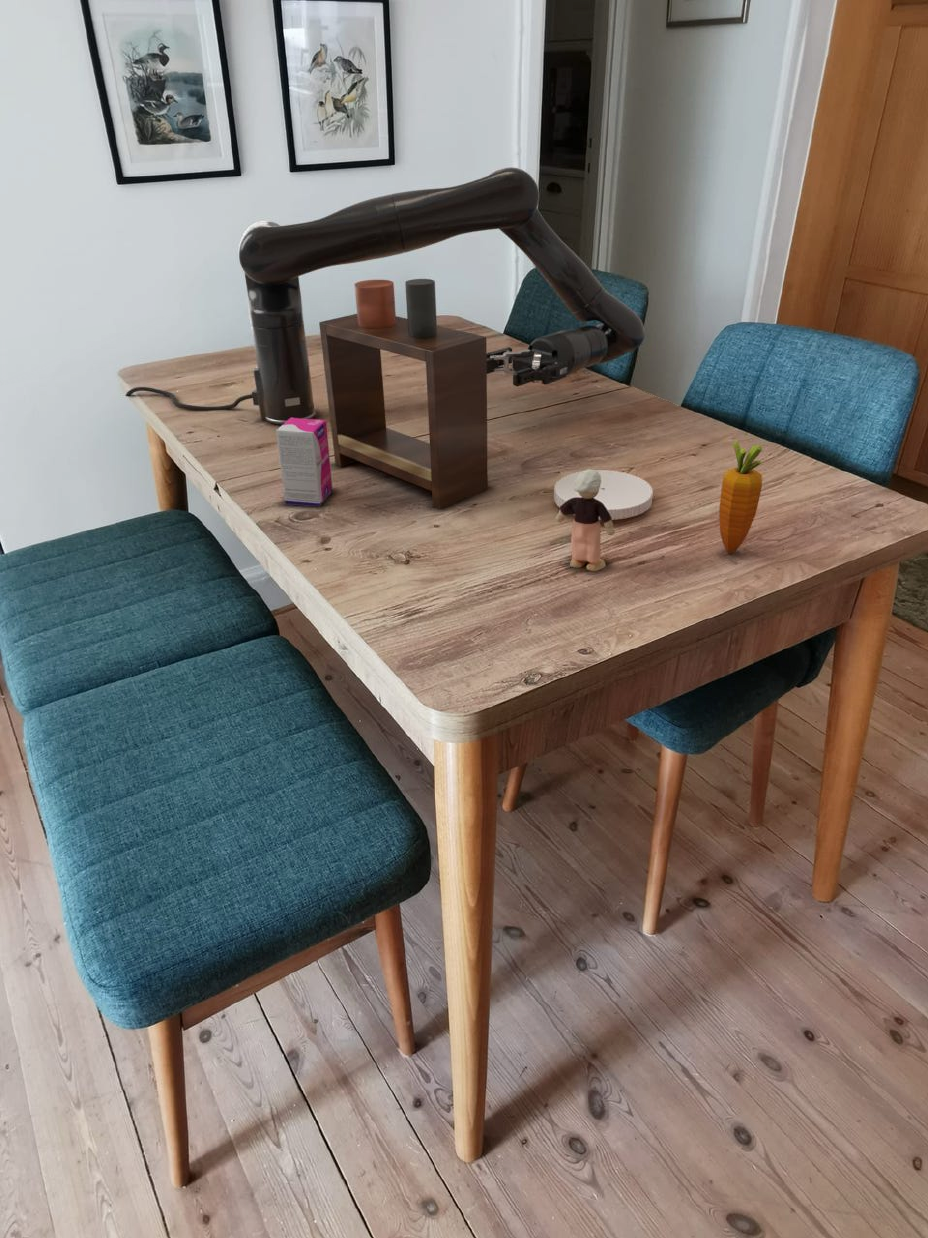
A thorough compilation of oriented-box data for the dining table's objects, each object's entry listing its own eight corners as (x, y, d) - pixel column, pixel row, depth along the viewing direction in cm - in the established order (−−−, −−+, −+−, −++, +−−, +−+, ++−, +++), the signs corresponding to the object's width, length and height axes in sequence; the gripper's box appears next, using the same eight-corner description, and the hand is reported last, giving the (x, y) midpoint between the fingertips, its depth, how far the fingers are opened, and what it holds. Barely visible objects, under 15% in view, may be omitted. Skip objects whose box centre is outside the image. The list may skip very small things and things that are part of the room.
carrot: (705, 545, 109) (721, 436, 101) (741, 543, 110) (761, 434, 102) (717, 563, 105) (736, 451, 97) (756, 561, 105) (777, 448, 97)
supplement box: (322, 507, 122) (312, 432, 116) (284, 504, 123) (272, 430, 117) (334, 491, 127) (326, 418, 121) (298, 488, 128) (288, 416, 122)
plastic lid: (551, 485, 127) (551, 470, 125) (643, 485, 126) (644, 469, 125) (556, 527, 115) (557, 510, 114) (658, 526, 114) (660, 509, 113)
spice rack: (335, 464, 136) (313, 271, 120) (382, 448, 142) (367, 261, 126) (440, 509, 121) (430, 295, 105) (488, 488, 126) (486, 282, 110)
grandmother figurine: (615, 560, 106) (623, 467, 100) (610, 574, 103) (617, 480, 97) (557, 552, 109) (560, 461, 102) (550, 566, 106) (553, 473, 99)
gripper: (529, 326, 148) (464, 343, 139) (593, 339, 140) (528, 359, 130) (528, 368, 152) (465, 388, 143) (590, 384, 144) (527, 406, 134)
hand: (495, 374), depth 137 cm, fingers open, 8 cm apart
